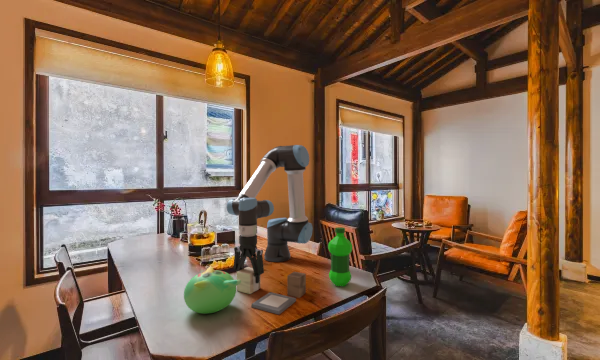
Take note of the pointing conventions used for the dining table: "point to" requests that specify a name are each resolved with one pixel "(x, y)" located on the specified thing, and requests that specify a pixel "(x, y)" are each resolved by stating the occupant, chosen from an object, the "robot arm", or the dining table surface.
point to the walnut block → (296, 284)
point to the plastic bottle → (340, 258)
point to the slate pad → (274, 303)
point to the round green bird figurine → (210, 291)
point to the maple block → (246, 280)
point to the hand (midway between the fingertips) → (248, 288)
